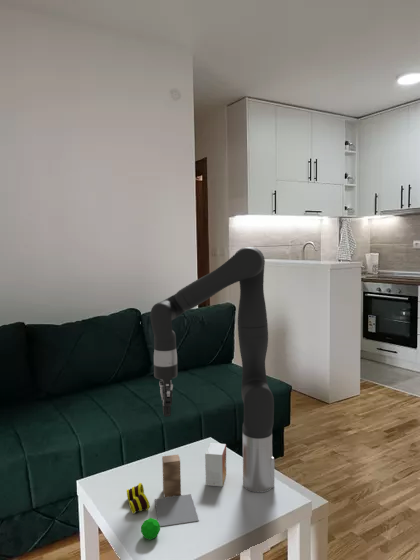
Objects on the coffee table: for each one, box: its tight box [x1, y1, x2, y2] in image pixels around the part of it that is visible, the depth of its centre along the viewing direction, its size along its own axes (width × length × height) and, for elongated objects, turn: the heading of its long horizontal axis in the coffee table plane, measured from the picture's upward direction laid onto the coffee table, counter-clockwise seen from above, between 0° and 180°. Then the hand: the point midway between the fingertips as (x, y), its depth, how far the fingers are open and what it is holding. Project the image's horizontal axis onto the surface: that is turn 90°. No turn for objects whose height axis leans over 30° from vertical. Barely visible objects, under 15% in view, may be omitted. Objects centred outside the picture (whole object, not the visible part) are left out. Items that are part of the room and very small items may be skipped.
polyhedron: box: [140, 517, 161, 540], centre depth 115 cm, size 5×5×5 cm
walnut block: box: [161, 454, 182, 498], centre depth 135 cm, size 5×4×11 cm
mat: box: [154, 493, 200, 528], centre depth 127 cm, size 11×13×1 cm
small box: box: [204, 442, 227, 487], centre depth 142 cm, size 8×6×10 cm
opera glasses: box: [126, 482, 150, 515], centre depth 129 cm, size 10×5×5 cm, turn 20°
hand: (166, 413), depth 143 cm, fingers open, 2 cm apart
